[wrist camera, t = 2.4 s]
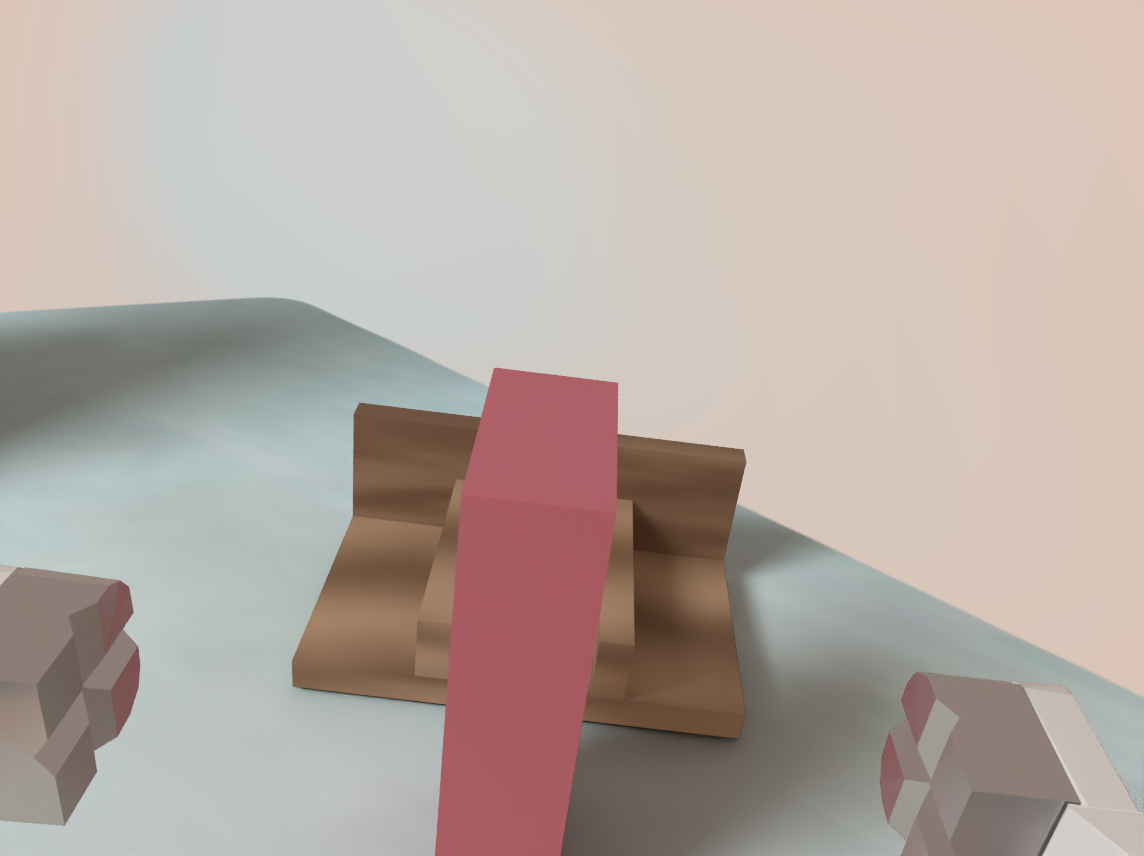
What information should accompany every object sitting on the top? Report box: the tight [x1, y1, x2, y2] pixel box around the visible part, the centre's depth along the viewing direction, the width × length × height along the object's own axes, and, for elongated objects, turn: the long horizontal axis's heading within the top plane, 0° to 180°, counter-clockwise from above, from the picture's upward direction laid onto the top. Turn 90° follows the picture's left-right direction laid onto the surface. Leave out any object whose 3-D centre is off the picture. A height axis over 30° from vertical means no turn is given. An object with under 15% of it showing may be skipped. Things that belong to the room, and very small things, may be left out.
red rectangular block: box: [435, 368, 618, 856], centre depth 27 cm, size 6×3×15 cm, turn 177°
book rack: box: [292, 403, 746, 739], centre depth 38 cm, size 10×16×6 cm, turn 87°
